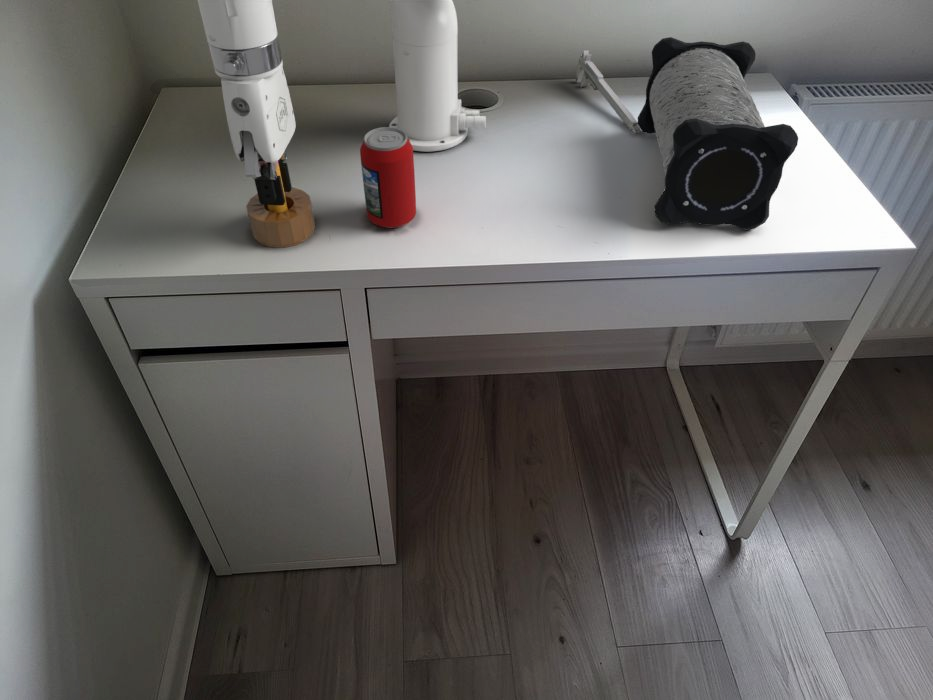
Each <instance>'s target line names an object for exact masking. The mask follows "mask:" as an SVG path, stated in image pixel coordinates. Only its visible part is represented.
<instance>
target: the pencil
mask: <svg viewBox="0 0 933 700" xmlns="http://www.w3.org/2000/svg"><path fill="white" fill-rule="evenodd" d="M258 163H259V165H265V166H267V167H268V165H267V162H258ZM275 166H276V172H277V176H280V177H281V173H280V168H279V163H278V161H277V162H276V163H275ZM281 182H282V178H281ZM282 187H283V183H282ZM283 192H284V188H283ZM284 197H285V193H284ZM268 209H269V211H270V212H277V213H278V212H284V211H286V210H288V208H287V203H286V198H285V203H284V205H268Z"/></svg>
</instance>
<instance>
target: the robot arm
mask: <svg viewBox="0 0 933 700" xmlns="http://www.w3.org/2000/svg"><path fill="white" fill-rule="evenodd" d="M474 1H475V2H476V1H478V0H473V2H474ZM388 3H389V11H390V12H389V13H390V22H391V23H390V25H391V41H392V52H393V53H392V55H393V69H394V82H395V83H394V84H395V97H396V111H397V116H395V117H394V118H393V119H391V121H390V122H389V125H388V127H392V128H397V129H400V130H402V131H403V132H405V134H406V136H407V138H408V140H409V141H410V143H411V145H412V147H413V152H414V151H415V152H423V153H424V152H427V153H428V152H429V153H430V152H440V151H444V150H448V149H451V148H454V147H456V146H458V145H460V144H461V143H462V142H463V141H464V140H465V139H466V138H467V136H468V131H469V129H475V130H476V129H477V130H486V129H487V128H486V127H487V116H486V115H480V114H481V113H480V112H481V111H480V109H466V108H465V107H462V99H461V98H460V99H459V97H458V96H459V93H458V91H459V89H458V87H459V86H458V79H459V78H458V75H459V73H458V71H459V70H458V35H459V34H458V33H459V29H458V25H459V24H458V15H457V10H456V7H455V4H454V1H453V0H388ZM197 5H198V9H199V12H200V13H199V14H200V16H201V20H202V26H203V29H204V33H205V37H206V41H207V45H208V50H209V55H210V57H211V63H212V66H213V70H214V73H215V74H216V75H217V76H218V77H219V78H220V84H221V90H222V91H221V93H222V98H223V99H222V100H223V105H224V110H225V116H226V122H227V127H228V131H229V135H230V140H231V145H232V147H233V151H234V154H235V156H236V158H237V159H238V161H239V162H244V173H245V177H246V178H252V179H253V180H254V183H255V188H256V192H257V193H258V197H259V202H260V203H261V204H264V205H284V203H285V197H284V192H290V191H291V189H292V187H293V185H292V181H291V176H290V171H289V166H288V163H287V160H288V159H287V156H288V155H287V150H286V149H287V147H288V145H289V144H290V142H291V140H292V138H293V136H294V134H295V131H296V126H297V123H296V117H295V113H294V109H293V103H292V99H291V95H290V90H289V86H288V82H287V78H286V75H285V71H284V70H285V69H284V68H283V66H284V61H283V56H282V50H281V46H280V45H281V44H280V40H279V34H278V28H277V23H276V22H277V21H276V16H275V12H274V6H273V5H274V4H273V0H197ZM277 161H278V163H279V168H280V173H281V177H280V176H277V172H276V166H275V163H276V162H277ZM258 162H267V165H268V167H267V166H265V165H259V163H258ZM281 178H282V182H281ZM282 183H283V187H282ZM283 188H284V192H283ZM257 193H256V194H257Z"/></svg>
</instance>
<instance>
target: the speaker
mask: <svg viewBox="0 0 933 700" xmlns="http://www.w3.org/2000/svg"><path fill="white" fill-rule="evenodd" d="M756 53H757V52H756V51H755V49H754V47H753V46H752V45H751V44H750V42H746V41H738V42H732V43H728V44H719V43H716V42H712V41H711V42H710V41H694V42H685V41H683V40H680V39H677V38H674V37H672V36H670V37H664V38H661V39H660V40H659V41H658V42H657V43H656V44H654V46H653V48H652V50H651V59H652V70H651V73H650V76H649V77H648V80H647V84H646V89H645V101H644V105H643V107H642V109H641V110H640V113H639V114H638V116H637V122H638V127H639V128H640V129H641V132H642V133H646V134H647V135H652V134H655V135H656V141H657V144H658V148H659V153H660V156H661V162H662V167H663V170H664V176H665V177H664V190H663V191H662V192H661V195H660V196H659V197H658V199H657V201H656V202H655V204H654V210H653V211H654V215H655V216H654V217H656V218H657V220H658V221H659V222H661V223H662V224H666V225H669V226H670V225H672V226H676V225H680V224H684V223H694V224H699V225H702V226H703V225H705V226H720V225H721V226H722V225H730V226H732V227H736V228H738V229H741V230H743V231H747V230H755V229H758V227H760V226H762V225H764V224H765V223H766V222H767V220H768V218H769V217H770V203H771V202H770V201H771V199H772V197H773V196H774V194H775V192H776V191H777V189H778V188H779V185H780V182H781V179H782V177H783V170H784V169H783V168H784V166H785V163H786V162H787V161H788V159H789V158H790V157H791V156H792V155H793V153H794V152H795V150H796V148H797V146H798V143H799V136H798V133H797V132H796V131H795V129H794V128H793V127H792V126H791V125H789V124H784V123H780V124H775V125H768V126H765V123H764V122H763V119H762V117H761V114H760V112H759V110H758V108H757V105H756V103H755V102H754V99H753V96H752V95H751V93H750V92H751V91H750V90H749V88H748V86H747V84H746V80H745V77H746V76H747V74H748V72H749V70H751V68H752V66H753V64H754V63H755V61H756Z"/></svg>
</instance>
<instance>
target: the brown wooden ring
mask: <svg viewBox="0 0 933 700" xmlns="http://www.w3.org/2000/svg"><path fill="white" fill-rule="evenodd" d="M284 193H285V198H286V203H287V208H288V210H286V211H284V212H278V213H277V212H270V211H269V209H268V205H264V204H261V203H260V202H259V197H258V193H256V194H255V195H254V196H252V197H250V198H249V200H248V202H247V204H246V212H247V217H248V221H249V225H250V230H251V233H252V237H253V238H254V239H255V241H256V242H257V243H259V244H261V245H263V246H266V247H268V248H269V247H270V248H277V249H279V248H289V247H293V246H297V245H299V244H301V243H303V242H305V241H307V240H308V239H309V238H310V237H312V235H313V234H314V232H315V229H316V222H315V221H316V220H315V216H314V210H313V205H312V200H311V196H310V195H309V194H308V193H306V192H305V191H304V190H303V189H300V188H296V187H293V186H292V189H291V191H290V192H284Z"/></svg>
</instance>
